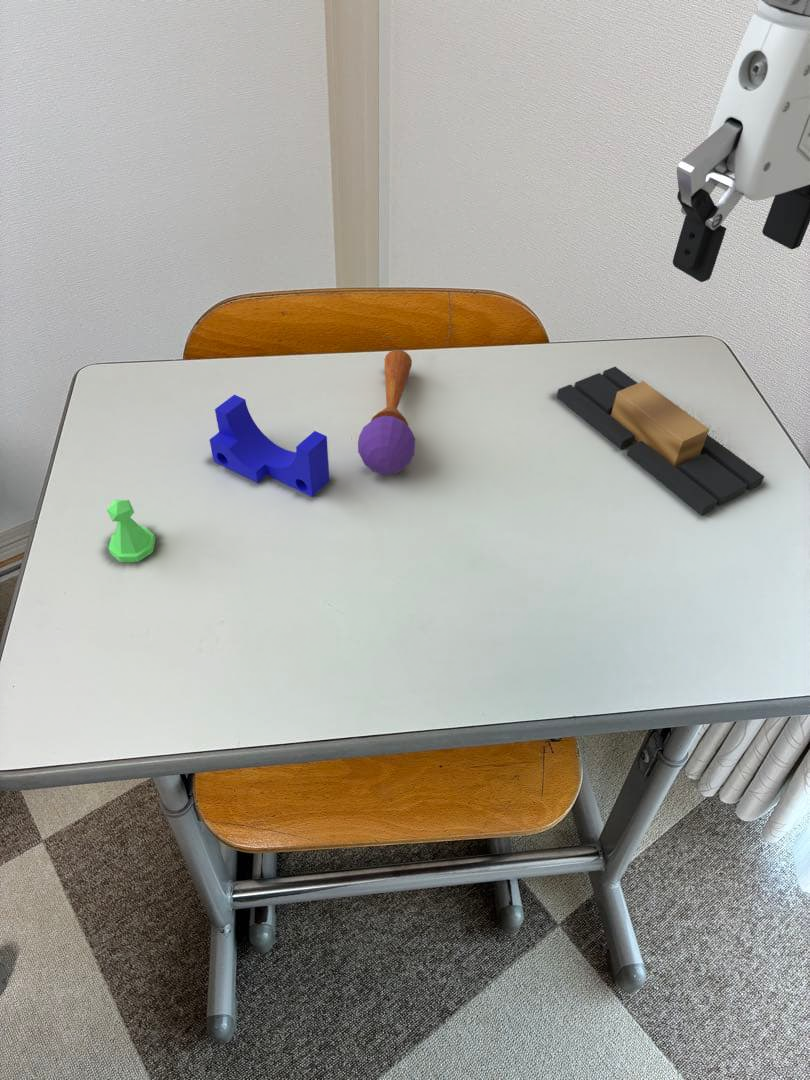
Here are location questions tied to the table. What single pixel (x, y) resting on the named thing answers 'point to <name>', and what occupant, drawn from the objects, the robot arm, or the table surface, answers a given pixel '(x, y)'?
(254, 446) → the blue cradle bracket
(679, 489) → the pad
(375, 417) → the kendama
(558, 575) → the table surface
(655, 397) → the block
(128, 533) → the game piece
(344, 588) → the table surface
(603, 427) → the pad
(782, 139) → the robot arm
